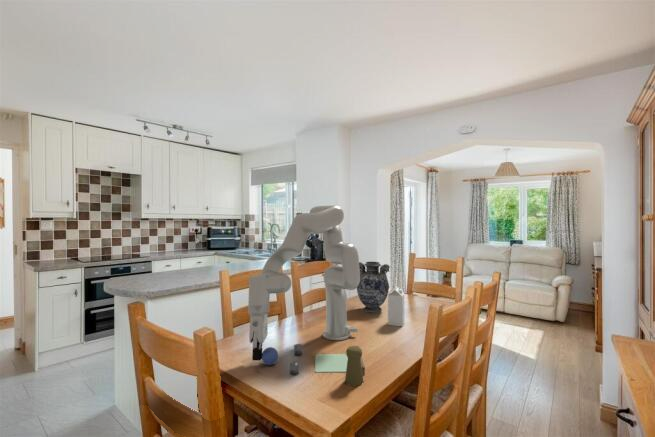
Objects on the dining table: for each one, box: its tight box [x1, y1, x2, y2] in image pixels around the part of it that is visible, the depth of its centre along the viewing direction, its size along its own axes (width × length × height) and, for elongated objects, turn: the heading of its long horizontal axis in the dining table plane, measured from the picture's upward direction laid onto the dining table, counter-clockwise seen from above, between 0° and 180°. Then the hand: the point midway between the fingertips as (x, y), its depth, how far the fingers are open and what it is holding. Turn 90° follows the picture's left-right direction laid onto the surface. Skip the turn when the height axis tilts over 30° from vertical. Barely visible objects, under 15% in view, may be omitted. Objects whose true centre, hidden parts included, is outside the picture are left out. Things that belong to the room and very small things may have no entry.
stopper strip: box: [357, 345, 366, 376], centre depth 114 cm, size 2×18×2 cm, turn 1°
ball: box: [261, 346, 279, 366], centre depth 113 cm, size 6×6×6 cm
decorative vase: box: [356, 261, 391, 314], centre depth 180 cm, size 21×19×28 cm
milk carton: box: [387, 285, 405, 327], centre depth 157 cm, size 7×7×19 cm
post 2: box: [289, 360, 300, 377], centre depth 106 cm, size 3×3×4 cm
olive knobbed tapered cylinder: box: [344, 345, 364, 387], centre depth 101 cm, size 6×6×11 cm
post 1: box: [293, 343, 303, 357], centre depth 121 cm, size 3×3×4 cm
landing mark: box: [314, 353, 348, 373], centre depth 114 cm, size 14×14×1 cm
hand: (257, 359), depth 113 cm, fingers closed
